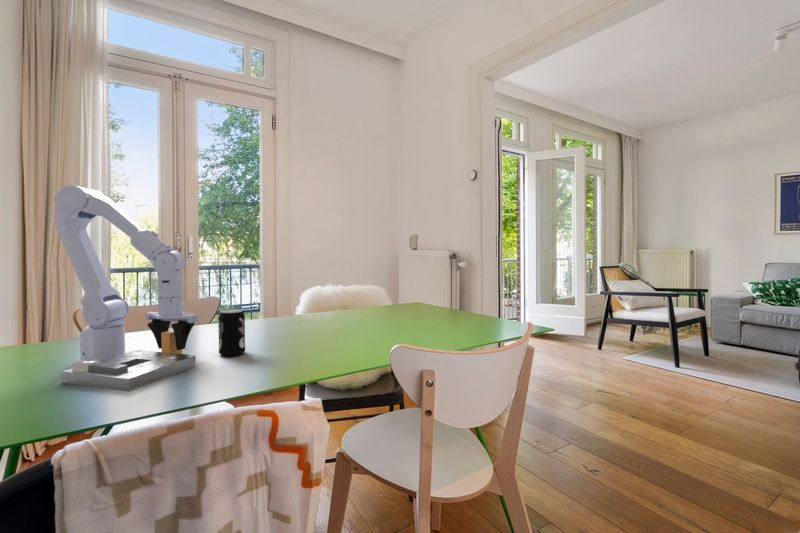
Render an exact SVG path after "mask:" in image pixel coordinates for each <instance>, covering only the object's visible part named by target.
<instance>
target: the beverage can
mask: <svg viewBox="0 0 800 533" xmlns="http://www.w3.org/2000/svg"><path fill="white" fill-rule="evenodd" d="M219 312H220V313H219V315H218V317H217V321H218V325H217V326H218V354H220V356H221V357H224V358H233V357H238V356H242V355H243V354H244V353H245V351H246V318H245V317H246V315H245V313H244V310H243V309H242V308H241V309H240V308H228V309H227V308H226V309H221V310H220V311H219Z"/></svg>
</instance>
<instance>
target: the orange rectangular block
mask: <svg viewBox="0 0 800 533" xmlns="http://www.w3.org/2000/svg"><path fill="white" fill-rule="evenodd" d="M161 344H162V348H161V352H164V353H175V354H183V349H182V350H177V348H176V339H175V334H174V330H173V329H170V330H168V331H166V332H162V333H161Z"/></svg>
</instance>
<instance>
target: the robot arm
mask: <svg viewBox="0 0 800 533" xmlns="http://www.w3.org/2000/svg"><path fill="white" fill-rule="evenodd" d="M52 199H53V202H54V205H55V208H56V209H55V221H54V226H55V228H56V231H57V234H58V235H59V238H60V240H61V242H62V244H63V246H64V249H65V252H66V254H67V255H68V259H69V260H70V263H71V266H72V267H73V270H74V271H75V274H76V276H77V278H78V281H79V283H80V285H81V287H82V288H81V289H83V292H84V294H83V295H82V298H81V299H80V303H81V306H82V315H81V316H82V320H83V321H84V322H85V323H86V325H87V326H84V328H83V329H82V330H81V331H80V334H79V353H80V354H79V355H80V356H79V359H77V360H76V361H79V360H84V359H100V360H104V359H107V358H111V357H114V356H118V355H121V354H125V353H126V337H125V336H126V334H125V332H126V331H125V318H126V317H127V316H128V315H129V312H130V305H129V303H128V301H127V300H125V299H124V298H123V297H122V296H121V294H120V292H119V290H117V289H116V288H114V287H113V286H112V285H111V284H110V281H109V280H108V277H107V275H106V272H105V271H104V268H103V266H102V263H101V262H100V259H99V257H98V254H97V252H96V249H95V247H94V245H93V243H92V241H91V239H90V236H89V234H88V233H89V232H88V230H87V227H88V226H89V224H90V222H91V221H93V220H94V219H95V218H96V217H98V216H100V217H102V218H104V219H105V220H107V221H108V222H109V223H111V224H112V225H114V227H116V228H117V229H118V230H120V231H121V232H122V233H124V234H125V235H126V236H127V237H129V238H130V245H131V246H132V247H133V248H134V249H135V250H136V251H137V252H139V253H140V254H141V255H142V256H144V257H145V258H146V259H147V260H148V261H150V262H151V264H152V268H153V270H155V272H156V274H157V279H156V280H157V311H148V312H146V313H145V321H151V322H148V323H147V328H149V330H150V331H151V332H152V335H153V336H154V338H155V341H156V344H157V348H158V349H159V350H160V349H161V350H162V344H161V333H162V332H166V331H170V330H169V329H170V326H171V328H172V330H174V334H175V339H176V348H177V350H182V351H183V350H185V349H186V346H187V341H188V337H189V335H190V333H191V331H192V329H193V327H194V326H195V323H197V322H198V314H196V313H195V314H194V313H189V312H184V280H183V269H184V268H185V267H186V263H187V262H186V258H185V255H183V253H182V252H181V251H180V250H176V249H174V250H173V248H174V247H173V246H172V245H171V244H167V243H166V242H165V241H163V240H162V239H161V238H160V237H159V234H160V233H158V232H157V231H155V230H151V229H149V228H147V229H146V228H143V229H142V228H141V226H139V224H137V223H136V222H135V221H134V220H133V219H132V218H130V217H129V216H128V215H127V214H126V213H125V212H124V211H123V210H122V209H121V208H120V207H119V206H117V205H116V203H115V202H114V201H113V200H112V199H111V198H109V197H108V196H106V195H105V194H104V193H103V192H102V191H99V190H98V189H90V188H85V187H83V186H82V187H81V186H78V185H74V184H67V185H64V186H62V187H61V188H60V189H59V190H58V191H57V193H56V194H55V195H54V197H53V198H52ZM171 322H175V323H171Z"/></svg>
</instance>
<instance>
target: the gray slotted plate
mask: <svg viewBox="0 0 800 533" xmlns="http://www.w3.org/2000/svg"><path fill="white" fill-rule="evenodd" d="M196 359H197V356H196V355H194V354H184V353H182V354H175V353H164V352H162V351H161V352H160V351H154V350H153V351H152V350H138V349H136V350H132V351H129V352H125V354H121V355H118V356H114V357H111V358H107V359H104V360H100V359H84V360H79V361H77V360H76V361H73V362H72V363H71V368H70V369H65V370H62V371H60V372H61V384H68V385H75V386H76V385H77V386H83V387H92V388H99V389H100V388H101V389H102V388H103V389H107V390H108V389H109V390H118V391H122V392H123V391H124V392H130V391H133V390H135V389H138V388H141V387H143V386H146V385H149V384H152V383H154V382H157V381H159V380H161V379H164V378H166V377H169V376H172V375H175V374H177V373H179V372H183V371H186V370H187V369H190V368H192V367H193V368H194V367H196V365H197V362H196Z"/></svg>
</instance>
